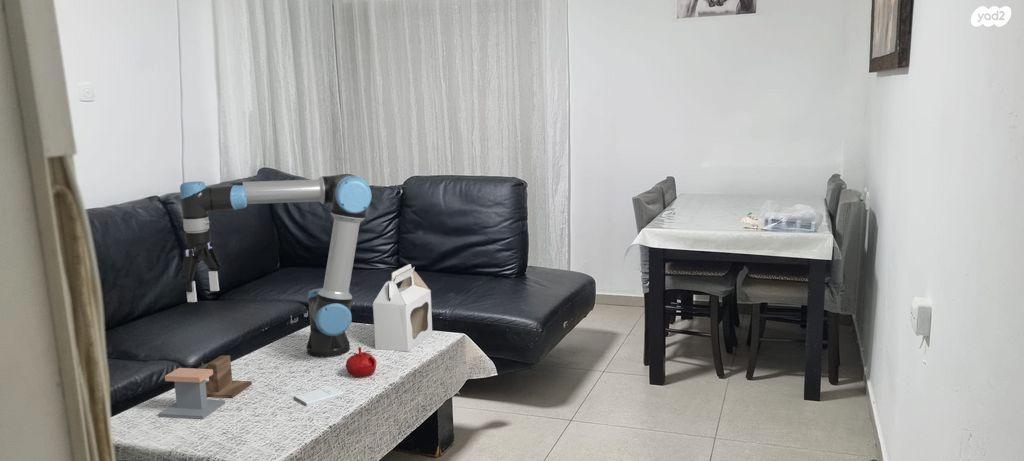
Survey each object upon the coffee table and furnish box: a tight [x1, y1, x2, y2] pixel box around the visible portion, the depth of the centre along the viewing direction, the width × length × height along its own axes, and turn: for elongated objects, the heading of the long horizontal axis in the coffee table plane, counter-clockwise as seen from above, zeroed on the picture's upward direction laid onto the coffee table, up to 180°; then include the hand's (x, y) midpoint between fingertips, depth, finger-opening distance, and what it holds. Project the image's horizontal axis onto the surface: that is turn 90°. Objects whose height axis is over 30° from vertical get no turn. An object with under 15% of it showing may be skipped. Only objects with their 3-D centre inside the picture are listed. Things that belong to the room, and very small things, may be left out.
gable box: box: [372, 263, 433, 353], centre depth 292 cm, size 22×13×28 cm, turn 163°
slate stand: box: [157, 379, 226, 420], centre depth 232 cm, size 14×12×10 cm
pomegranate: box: [345, 346, 377, 379], centre depth 259 cm, size 10×10×9 cm
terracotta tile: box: [164, 367, 213, 383], centre depth 231 cm, size 7×11×2 cm, turn 80°
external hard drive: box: [293, 385, 344, 407], centre depth 241 cm, size 2×8×12 cm
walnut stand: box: [205, 354, 253, 399], centre depth 248 cm, size 14×12×10 cm
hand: (203, 296), depth 254 cm, fingers open, 13 cm apart
